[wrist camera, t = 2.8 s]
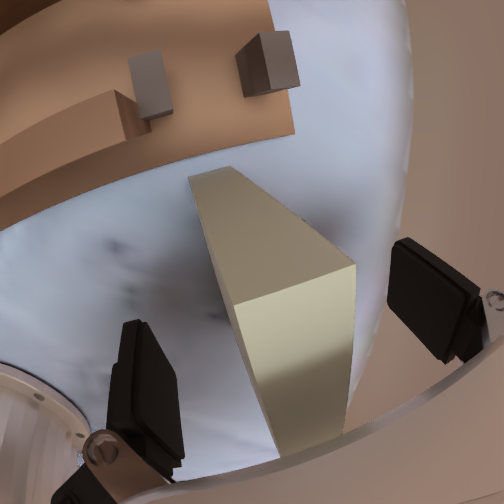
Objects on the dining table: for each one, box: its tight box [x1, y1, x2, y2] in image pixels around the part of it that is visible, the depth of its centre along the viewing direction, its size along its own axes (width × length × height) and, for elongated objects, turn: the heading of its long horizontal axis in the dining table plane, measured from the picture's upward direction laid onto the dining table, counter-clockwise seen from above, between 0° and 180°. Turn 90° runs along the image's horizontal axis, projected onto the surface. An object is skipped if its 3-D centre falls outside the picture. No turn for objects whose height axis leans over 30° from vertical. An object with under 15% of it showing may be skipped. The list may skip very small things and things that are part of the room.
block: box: [188, 166, 356, 458], centre depth 11 cm, size 9×3×10 cm, turn 11°
